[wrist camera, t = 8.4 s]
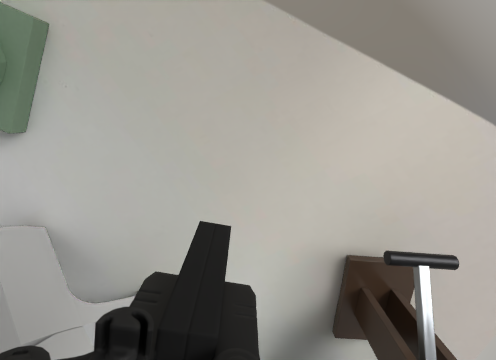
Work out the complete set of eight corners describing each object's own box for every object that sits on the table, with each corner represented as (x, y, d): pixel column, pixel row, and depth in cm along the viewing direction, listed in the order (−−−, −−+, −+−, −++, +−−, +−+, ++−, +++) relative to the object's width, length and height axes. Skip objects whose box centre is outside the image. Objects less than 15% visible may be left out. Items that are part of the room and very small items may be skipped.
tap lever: (380, 250, 29) (393, 251, 27) (444, 254, 30) (462, 255, 27) (386, 391, 26) (401, 405, 24) (457, 394, 27) (479, 409, 24)
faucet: (-20, 226, 29) (33, 412, 19) (122, 224, 43) (196, 331, 33) (-38, 271, 30) (2, 467, 20) (105, 255, 44) (171, 367, 34)
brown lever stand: (347, 254, 36) (408, 343, 22) (415, 259, 36) (515, 350, 22) (332, 331, 39) (378, 449, 25) (395, 334, 39) (473, 453, 26)
